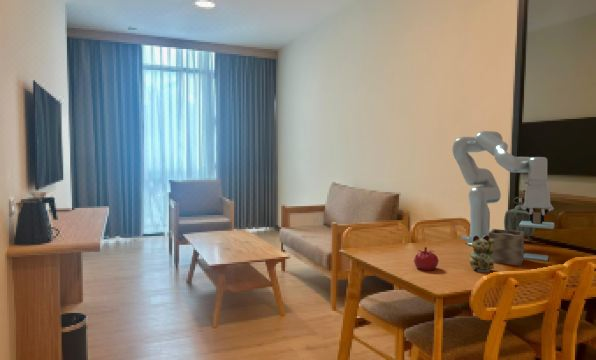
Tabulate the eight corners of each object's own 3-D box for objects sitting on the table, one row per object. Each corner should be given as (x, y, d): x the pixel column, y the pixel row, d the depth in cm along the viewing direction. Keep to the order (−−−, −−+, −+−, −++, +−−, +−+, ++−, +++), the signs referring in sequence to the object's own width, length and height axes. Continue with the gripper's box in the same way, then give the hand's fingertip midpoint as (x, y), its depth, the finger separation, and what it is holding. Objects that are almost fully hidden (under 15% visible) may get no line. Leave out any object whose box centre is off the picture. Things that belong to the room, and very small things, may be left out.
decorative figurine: (473, 272, 168) (474, 236, 167) (465, 267, 176) (465, 232, 176) (497, 272, 168) (497, 236, 167) (487, 267, 176) (488, 232, 176)
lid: (519, 226, 190) (519, 213, 190) (521, 222, 201) (521, 210, 201) (553, 228, 183) (553, 215, 182) (554, 224, 194) (554, 212, 194)
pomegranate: (443, 269, 173) (444, 248, 173) (427, 273, 168) (428, 250, 167) (424, 264, 182) (425, 243, 181) (408, 267, 176) (409, 245, 176)
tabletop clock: (535, 241, 229) (536, 197, 228) (531, 244, 223) (532, 198, 221) (507, 238, 239) (508, 195, 238) (502, 241, 232) (503, 196, 231)
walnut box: (488, 261, 186) (488, 233, 185) (492, 255, 197) (493, 228, 196) (520, 265, 179) (521, 235, 178) (523, 259, 190) (524, 231, 189)
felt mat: (522, 258, 192) (522, 257, 192) (524, 254, 200) (524, 252, 200) (547, 261, 186) (547, 259, 186) (548, 256, 195) (548, 255, 195)
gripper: (516, 183, 193) (516, 222, 193) (558, 184, 184) (557, 225, 184) (518, 182, 199) (517, 220, 200) (558, 183, 190) (557, 223, 191)
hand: (536, 222), depth 192 cm, fingers closed on lid, 3 cm apart
